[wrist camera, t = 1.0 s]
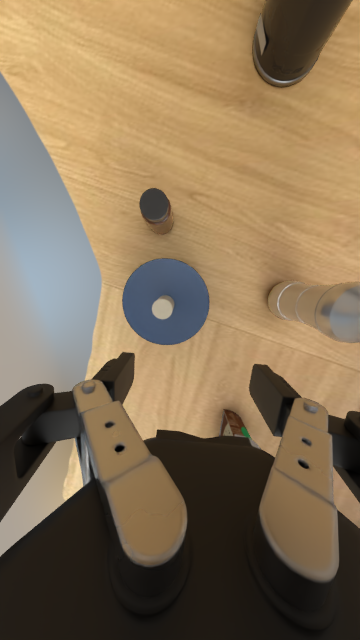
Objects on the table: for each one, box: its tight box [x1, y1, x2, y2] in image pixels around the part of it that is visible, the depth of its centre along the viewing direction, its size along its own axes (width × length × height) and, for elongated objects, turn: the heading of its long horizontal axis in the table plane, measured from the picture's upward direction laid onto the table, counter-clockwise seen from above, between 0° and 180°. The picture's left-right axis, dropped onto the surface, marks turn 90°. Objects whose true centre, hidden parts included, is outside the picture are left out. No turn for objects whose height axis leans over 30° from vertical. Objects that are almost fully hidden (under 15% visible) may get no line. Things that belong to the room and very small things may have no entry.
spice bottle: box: [140, 188, 173, 234], centre depth 28 cm, size 4×4×8 cm
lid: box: [122, 258, 209, 345], centre depth 26 cm, size 13×13×6 cm
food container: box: [219, 409, 261, 449], centre depth 36 cm, size 12×6×10 cm, turn 175°
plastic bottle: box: [268, 280, 360, 343], centre depth 24 cm, size 6×7×20 cm
